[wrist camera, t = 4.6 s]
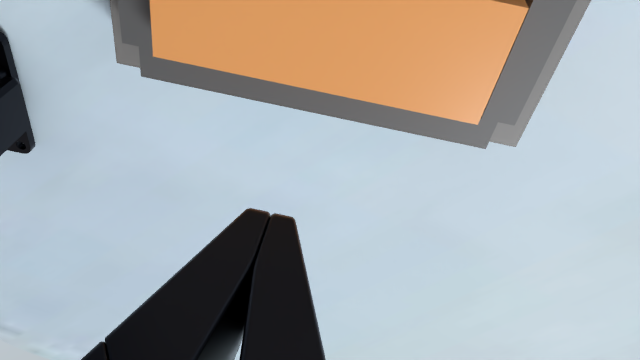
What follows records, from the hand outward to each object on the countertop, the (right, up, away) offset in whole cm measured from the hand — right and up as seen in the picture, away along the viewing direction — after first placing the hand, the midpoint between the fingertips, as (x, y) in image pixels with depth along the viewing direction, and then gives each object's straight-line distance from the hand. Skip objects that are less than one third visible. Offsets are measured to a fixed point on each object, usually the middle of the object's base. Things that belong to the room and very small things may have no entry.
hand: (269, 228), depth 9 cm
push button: (+1, +7, +8) cm, 11 cm away
